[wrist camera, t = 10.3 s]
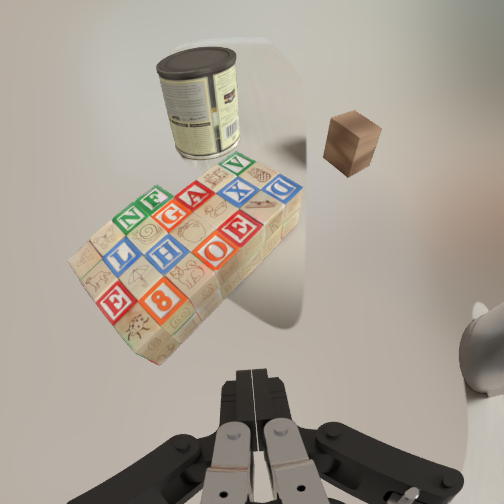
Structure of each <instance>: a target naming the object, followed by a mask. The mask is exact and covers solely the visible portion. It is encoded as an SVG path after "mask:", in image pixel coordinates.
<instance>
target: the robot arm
mask: <svg viewBox="0 0 504 504" xmlns="http://www.w3.org/2000/svg"><path fill="white" fill-rule="evenodd" d="M459 362H460V368H461V372H462V375H463V377H464V379H465V381H466V383H467V384H468V385H469V387H471V388H472V389H473V390H474V391H477V392H481V393H486V394H487V395H488V396H489V397H494V396H498V395H502V394H504V302H503V303H502V304H500V305H498V306H497V307H495V308H494V309H492V310H491V311H489V312H488V313H486V314H484V315H482V316H480V317H479V318H478V319H476V320H475V321H473V322H472V323H470V324H469V326H468V327H467V328H466V329H465V331H464V333H463V335H462V338H461V342H460V348H459ZM252 375H253V387H254V399H255V412H256V423H257V432H258V443H259V451H264V458H265V461H266V465H267V470H268V474H269V479H270V483H271V488H272V492H273V497H274V500H273V501H270V502H266V503H257V502H254V496H253V495H254V456H253V452H254V451H258V449H257V437H256V424H255V413H254V400H253V389H252V378H251V370H240V371H236V381H226V383H225V384H224V385H223V387H222V393H221V396H222V397H221V409H220V424H219V428H218V429H217V431H216V432H214V433H213V434H211V435H209V436H207V437H203V438H199V439H196V438H195V437H193V436H191V435H187V434H180V435H176V436H173V437H172V438H170V439H169V440H167V441H166V442H165V443H163V444H162V445H160V446H159V447H157V448H156V449H155V450H153V451H152V452H150V453H149V454H147V455H146V456H144V457H143V458H141V459H140V460H138V461H137V462H135V463H134V464H132V465H131V466H129V467H128V468H126V469H124V470H123V471H121V472H120V473H118V474H116V475H115V476H113V477H112V478H110V479H108V480H106V481H105V482H103V483H102V484H100V485H98V486H96V487H94V488H93V489H91V490H89V491H88V492H86V493H84V494H82V495H80V496H78V497H76V498H75V499H72V500H71V501H69V502H68V503H67V504H184V503H185V502H187V501H188V500H189V499H190V498H191V497H193V496H194V495H195V494H196V493H198V492H199V491H200V490H201V489H202V488H203V492H202V498H201V503H200V504H345V503H343V502H341V501H338V500H335V499H332V498H327V495H326V493H325V490H324V487H323V484H322V482H321V479H320V478H322V479H323V480H325V481H327V482H329V483H330V484H332V485H334V486H335V487H337V488H339V489H341V490H343V491H345V492H346V493H349V494H350V495H352V496H354V497H356V498H358V499H360V500H362V501H364V502H366V503H368V504H449V503H450V502H451V501H452V499H453V498H454V497H455V495H456V494H457V493H458V492H459V491H460V490H461V489H462V487H463V484H464V478H463V475H462V474H461V473H460V472H459V471H458V470H455V469H453V468H449V467H446V466H443V465H440V464H437V463H434V462H431V461H429V460H426V459H423V458H420V457H418V456H415V455H412V454H410V453H407V452H405V451H402V450H400V449H397V448H395V447H392V446H390V445H387V444H385V443H383V442H381V441H378V440H376V439H374V438H371V437H369V436H367V435H365V434H363V433H360V432H359V431H357V430H354V429H352V428H350V427H348V426H346V425H344V424H342V423H338V422H328V423H325V424H323V425H321V426H320V427H319V428H318V430H313V429H304V428H301V427H299V426H297V425H296V423H295V422H293V420H292V418H291V414H290V409H289V405H288V401H287V396H286V392H285V387H284V383H283V382H282V381H281V380H280V379H279V378H278V377H275V378H268V375H267V369H266V368H265V369H254V370H252Z"/></svg>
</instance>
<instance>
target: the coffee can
mask: <svg viewBox="0 0 504 504" xmlns="http://www.w3.org/2000/svg"><path fill="white" fill-rule="evenodd" d="M235 61H236V53H235V52H234V51H233V50H231V49H228V48H223V47H199V48H193V49H188V50H184V51H181V52H178V53H175V54H172V55H170V56H168V57H166V58H165V59H163V60H161V61H160V62H159V63H158V64H157V67H156V69H157V73H158V74H159V78H160V83H161V87H162V92H163V96H164V100H165V104H166V108H167V113H168V117H169V121H170V125H171V129H172V133H173V137H174V141H175V147H176V149H177V151H178V152H179V153H180V154H181V155H182V156H184V157H187V158H190V159H198V160H204V159H211V158H216V157H219V156H222V155H224V154H226V153H229V152H230V151H231V150H233V149H234V148H235V147H236V146H237V144H238V143H239V141H240V130H239V114H238V98H237V80H236V65H235Z"/></svg>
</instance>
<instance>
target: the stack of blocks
mask: <svg viewBox="0 0 504 504" xmlns="http://www.w3.org/2000/svg"><path fill="white" fill-rule="evenodd" d="M302 193H303V187H302V186H300V185H298V184H297V183H295V182H293V181H292V180H290V179H288V178H287V177H285V176H283V175H281V174H279V173H278V172H277V171H275V170H273V169H271V168H269V167H268V166H266V165H264V164H262V163H260V162H256V161H255V160H253V159H251V158H249V157H247V156H245V155H243V154H241V153H239V152H237V151H236V152H234V153H233V154H231V155H230V156H228V157H227V158H225V159H224V160H223V161H221V162H220V163H218V164H217V165H215V166H213V167H212V168H211V169H209V170H208V171H207V172H205V173H204V174H203V175H201V176H200V177H199V178H197V179H196V181H194V182H193V183H191V184H190V185H189V186H187V187H186V188H185V189H183V190H182V191H181V192H180V193H178V194H177V195H176V196H173V195H171V194H170V193H169V192H167V191H166V190H164V189H163V188H162V187H160V186H159V185H155V186H154V187H152V188H151V189H150V190H148V191H147V192H146V193H145V194H143V195H142V196H141V197H139V198H138V199H137V200H136V201H135V202H133V203H131V204H130V205H129V206H127V207H126V208H125V209H123V210H122V211H121V212H120V213H119V214H117V215H116V216H115V217H114V218H113V220H112V221H109V222H108V223H106V224H105V225H104V226H103V227H102V228H101V229H99V230H98V231H97V232H96V233H95V234H94V235H93V236H91V237H90V241H88V242H87V243H86V244H85V245H84V246H83V247H81V248H80V249H79V250H78V251H77V252H76V253H75V254H74V255H73V256H72V257H71V258H70V259H69V260H68V262H69V264H70V266H71V267H72V269H73V270H74V272H75V273H76V275H77V276H78V278H79V280H80V282H81V284H82V285H83V286H84V288H85V290H86V291H87V292H88V294H89V295H90V297H91V298H92V299H93V301H94V302H95V303H96V304H97V306H98V307H99V308H100V310H101V311H102V312H103V314H104V315H105V316H106V318H107V319H108V320H109V321H110V323H111V324H112V325H113V326H114V328H115V329H116V331H117V332H118V333H119V334H120V336H121V337H122V338H123V340H124V341H125V342H126V343H127V344H128V346H129V347H130V348H131V349H132V350H133V351H134V352H135V353H136V354H138V355H140V356H142V357H144V358H146V359H148V360H149V361H151V362H153V363H155V364H157V365H161V364H162V363H163V362H164V361H165V360H166V359H167V358H168V357H169V356H170V355H171V354H172V353H173V352H174V351H175V350H176V349H177V348H178V347H179V346H180V344H182V343H183V342H184V341H185V340H186V339H187V338H188V337H189V336H190V335H191V334H192V333H193V332H194V330H196V329H197V328H198V326H199V325H200V324H201V323H202V322H203V321H204V320H205V319H206V318H207V317H208V316H209V315H210V314H211V313H212V312H213V311H214V310H215V309H216V308H217V307H218V306H219V305H220V303H222V301H223V300H224V299H226V298H227V297H228V296H229V294H230V293H231V292H232V291H233V290H234V289H235V288H236V287H237V286H238V285H239V284H240V283H241V282H242V281H243V280H244V279H245V278H246V277H247V276H248V275H249V274H250V273H251V272H252V271H253V270H254V269H255V268H256V267H257V266H258V265H259V264H260V263H261V262H262V260H263V259H264V258H265V257H266V256H267V255H268V254H269V253H270V252H271V251H272V250H273V249H274V248H275V247H276V246H277V245H278V244H279V243H280V241H281V240H282V239H283V238H284V237H285V236H286V235H287V234H288V233H289V232H290V231H291V230H292V229H293V228H294V227H295V226H296V225H297V223H298V217H299V212H300V205H301V199H302Z"/></svg>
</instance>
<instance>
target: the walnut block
mask: <svg viewBox="0 0 504 504" xmlns="http://www.w3.org/2000/svg"><path fill="white" fill-rule="evenodd" d="M381 130H382V128H380V127H379V126H378V125H376V124H375V123H373V122H372V121H370V120H369V119H367V118H366V117H364V116H362V115H361V114H359V113H358V112H356V111H355V110H354V111H351V112H347V113H344V114H342V115H338V116H335V117H332V118H331V120H330V125H329V130H328V136H327V140H326V146H325V151H324V155H323V158H324V159H325V160H327V161H328V162H329V163H330V164H332V165H333V166H334V167H335V168H337V169H338V170H339V171H340V172H342V173H343V174H344V175H345V176H346V177H348V178H349V177H350V176H352V175H354V174H356V173H357V172H359V171H361V170H363V169H365V168H366V167H368V166H369V165H370V162H371V159H372V157H373V153H374V151H375V148H376V145H377V142H378V139H379V136H380V133H381Z"/></svg>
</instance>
